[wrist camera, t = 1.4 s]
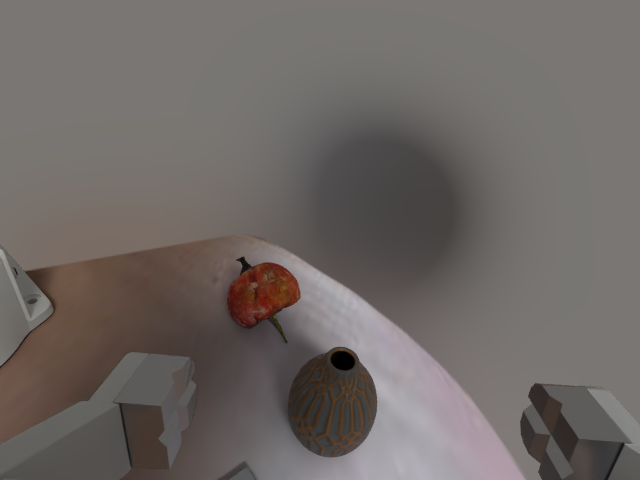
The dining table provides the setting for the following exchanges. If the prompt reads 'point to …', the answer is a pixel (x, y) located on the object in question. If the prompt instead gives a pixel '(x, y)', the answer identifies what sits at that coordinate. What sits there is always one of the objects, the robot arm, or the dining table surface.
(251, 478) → the mat
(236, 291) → the pomegranate
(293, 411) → the vase
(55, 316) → the dining table surface
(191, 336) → the dining table surface
